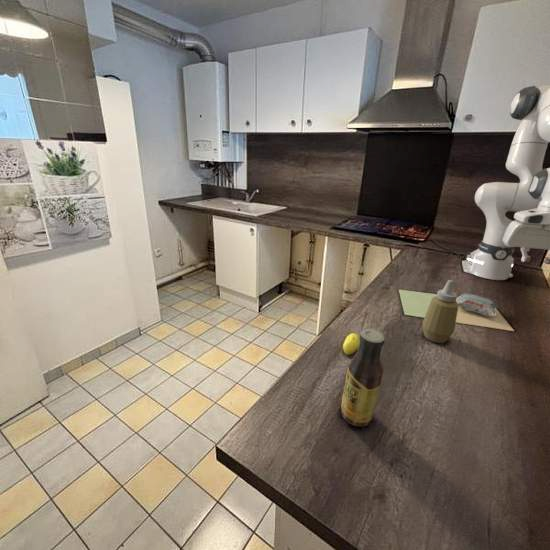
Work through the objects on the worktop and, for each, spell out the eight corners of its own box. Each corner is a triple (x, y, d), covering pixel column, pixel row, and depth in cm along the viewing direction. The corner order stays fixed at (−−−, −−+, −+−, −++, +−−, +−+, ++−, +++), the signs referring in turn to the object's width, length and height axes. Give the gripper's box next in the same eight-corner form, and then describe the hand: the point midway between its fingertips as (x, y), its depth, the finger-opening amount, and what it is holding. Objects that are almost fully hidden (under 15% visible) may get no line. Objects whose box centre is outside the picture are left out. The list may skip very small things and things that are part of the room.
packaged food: (493, 322, 92) (498, 308, 90) (451, 309, 99) (455, 296, 97) (496, 312, 98) (500, 299, 96) (456, 300, 105) (460, 288, 103)
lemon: (338, 353, 76) (339, 341, 75) (349, 339, 82) (350, 327, 81) (353, 360, 74) (355, 347, 73) (363, 344, 80) (365, 332, 79)
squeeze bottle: (447, 332, 86) (464, 277, 79) (453, 348, 79) (472, 289, 72) (418, 327, 89) (431, 273, 82) (421, 342, 82) (436, 284, 75)
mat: (398, 289, 113) (398, 289, 113) (489, 301, 105) (489, 301, 105) (404, 314, 95) (404, 314, 95) (514, 331, 88) (514, 331, 88)
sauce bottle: (336, 404, 61) (347, 323, 53) (365, 402, 61) (380, 322, 54) (346, 431, 55) (360, 345, 47) (377, 429, 55) (397, 344, 48)
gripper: (592, 217, 83) (571, 263, 88) (508, 212, 88) (494, 255, 93) (608, 222, 77) (585, 270, 83) (518, 216, 82) (502, 262, 88)
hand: (536, 262), depth 88 cm, fingers open, 5 cm apart
